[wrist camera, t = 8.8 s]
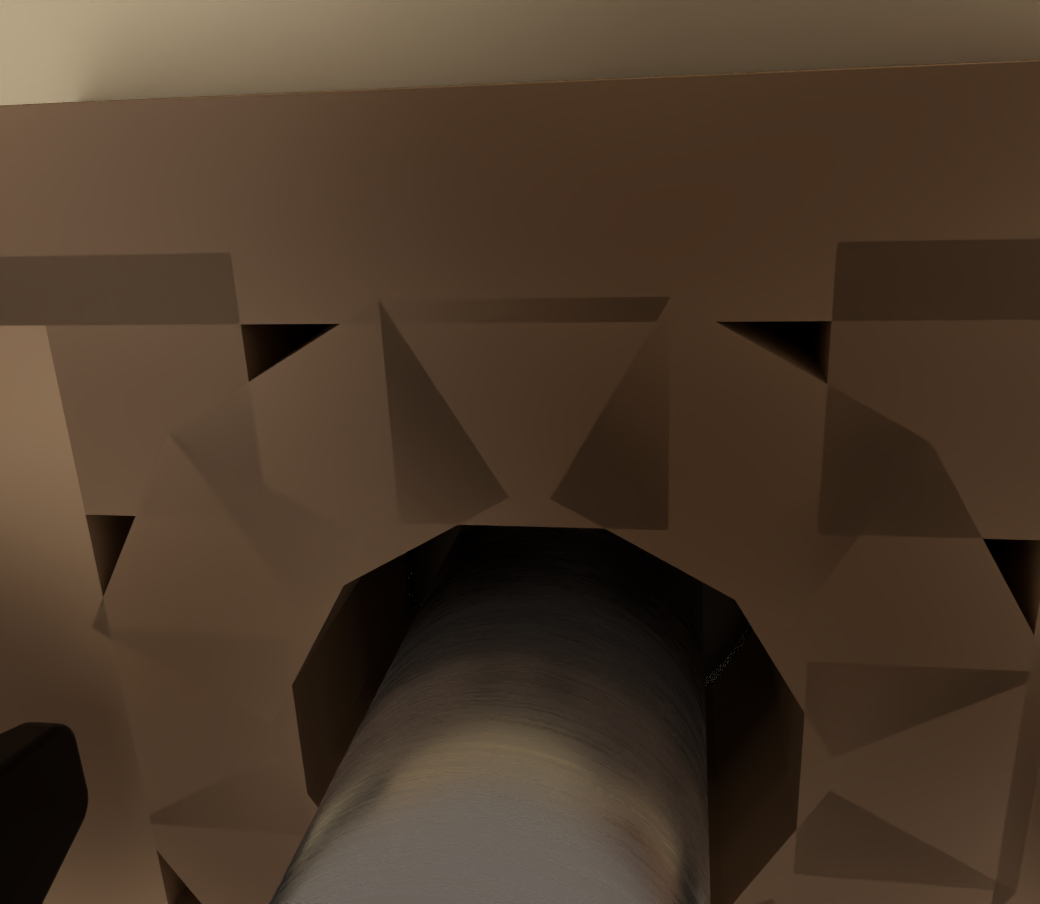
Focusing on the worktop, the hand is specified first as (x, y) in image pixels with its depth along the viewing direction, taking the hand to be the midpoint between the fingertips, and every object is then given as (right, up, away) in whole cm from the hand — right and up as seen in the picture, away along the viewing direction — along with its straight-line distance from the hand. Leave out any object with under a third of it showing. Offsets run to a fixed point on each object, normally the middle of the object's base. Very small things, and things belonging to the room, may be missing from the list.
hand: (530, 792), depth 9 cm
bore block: (+1, +2, +4) cm, 4 cm away
